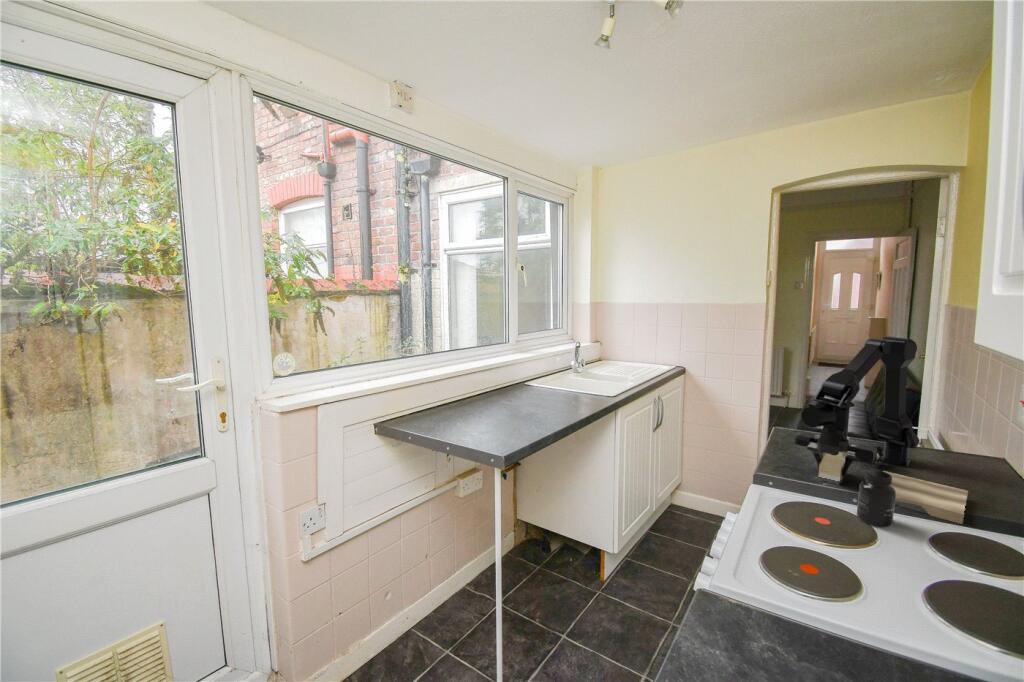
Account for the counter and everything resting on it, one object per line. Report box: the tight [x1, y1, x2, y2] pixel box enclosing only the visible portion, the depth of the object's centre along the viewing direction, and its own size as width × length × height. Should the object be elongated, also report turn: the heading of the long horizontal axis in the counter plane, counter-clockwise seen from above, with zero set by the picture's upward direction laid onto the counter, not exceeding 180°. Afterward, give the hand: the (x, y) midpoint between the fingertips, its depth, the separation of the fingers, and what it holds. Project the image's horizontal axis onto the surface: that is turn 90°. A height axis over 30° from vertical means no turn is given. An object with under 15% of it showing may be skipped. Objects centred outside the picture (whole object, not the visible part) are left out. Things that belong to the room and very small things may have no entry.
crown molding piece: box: [882, 470, 969, 525], centre depth 116 cm, size 16×17×2 cm
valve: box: [836, 436, 884, 468], centre depth 140 cm, size 7×7×12 cm
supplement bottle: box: [856, 469, 896, 528], centre depth 106 cm, size 7×7×12 cm
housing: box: [818, 453, 845, 481], centre depth 130 cm, size 10×5×5 cm, turn 136°
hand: (831, 473), depth 130 cm, fingers closed on housing, 5 cm apart
